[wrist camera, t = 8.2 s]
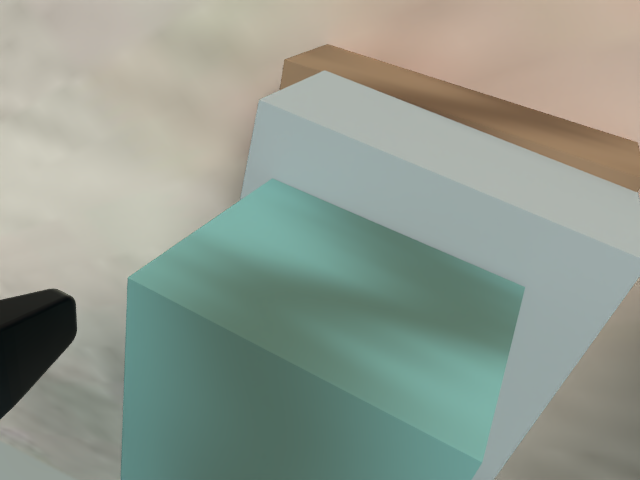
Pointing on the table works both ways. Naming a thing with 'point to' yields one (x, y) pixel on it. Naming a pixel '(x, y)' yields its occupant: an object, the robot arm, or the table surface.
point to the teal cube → (310, 351)
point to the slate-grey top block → (465, 219)
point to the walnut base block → (481, 113)
